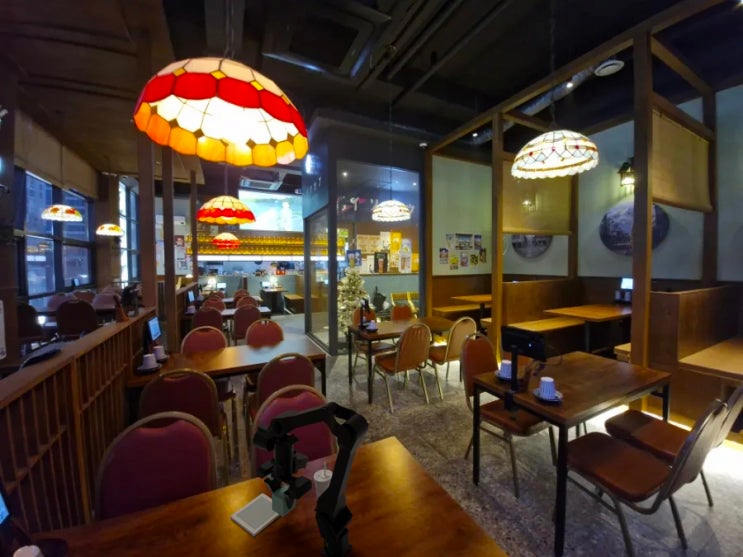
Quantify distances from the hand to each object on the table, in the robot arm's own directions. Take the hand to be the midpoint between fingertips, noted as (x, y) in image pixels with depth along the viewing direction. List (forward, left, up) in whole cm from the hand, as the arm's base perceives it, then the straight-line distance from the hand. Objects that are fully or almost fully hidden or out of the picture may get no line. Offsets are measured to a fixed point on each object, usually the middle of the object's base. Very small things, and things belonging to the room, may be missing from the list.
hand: (284, 504), depth 96 cm
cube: (0, 0, -1) cm, 1 cm away
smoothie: (-4, -13, -6) cm, 15 cm away
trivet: (+10, +2, -6) cm, 12 cm away
